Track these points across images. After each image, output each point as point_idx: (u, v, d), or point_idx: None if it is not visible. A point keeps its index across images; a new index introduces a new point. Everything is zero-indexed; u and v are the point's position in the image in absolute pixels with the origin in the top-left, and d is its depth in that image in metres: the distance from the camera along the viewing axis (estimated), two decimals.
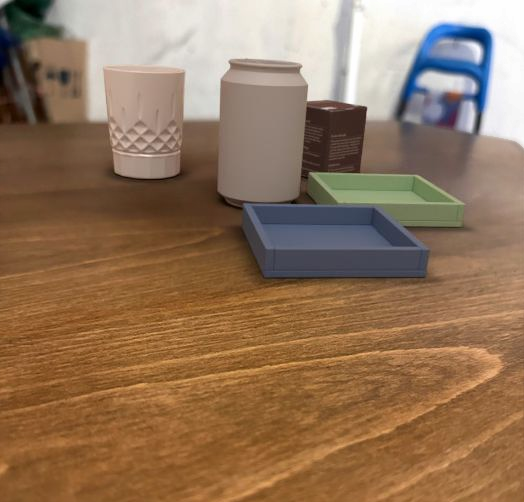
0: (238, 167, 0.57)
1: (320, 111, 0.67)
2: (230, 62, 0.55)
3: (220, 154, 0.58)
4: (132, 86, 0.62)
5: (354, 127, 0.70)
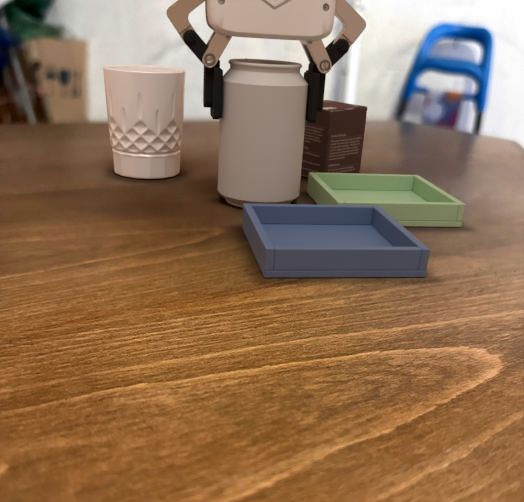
0: (238, 167, 0.57)
1: None
2: (230, 62, 0.55)
3: (220, 154, 0.58)
4: (132, 86, 0.62)
5: (354, 127, 0.70)
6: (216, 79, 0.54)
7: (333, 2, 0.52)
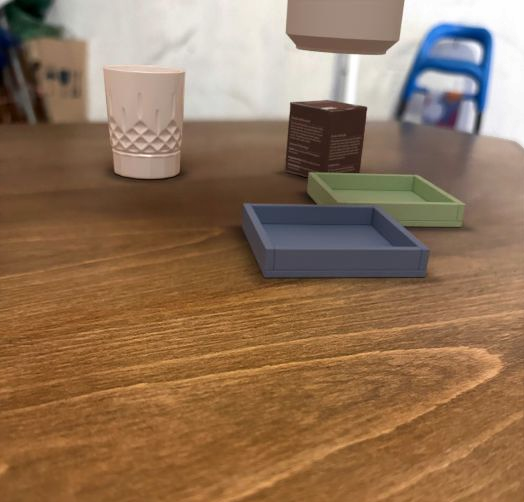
0: None
1: (320, 111, 0.67)
2: None
3: None
4: (132, 86, 0.62)
5: (354, 127, 0.70)
6: None
7: None
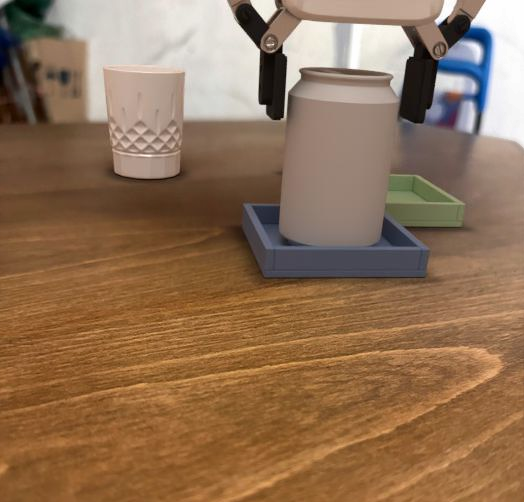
0: (310, 205, 0.45)
1: None
2: (303, 72, 0.43)
3: (285, 187, 0.46)
4: (132, 86, 0.62)
5: None
6: (278, 68, 0.42)
7: None
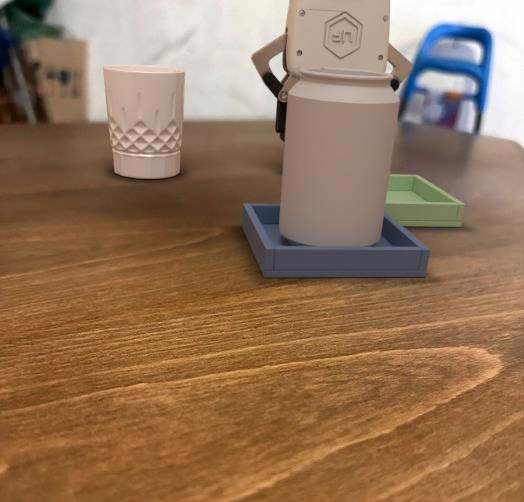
0: (310, 205, 0.45)
1: None
2: (303, 72, 0.43)
3: (285, 187, 0.46)
4: (132, 86, 0.62)
5: None
6: None
7: (386, 53, 0.66)
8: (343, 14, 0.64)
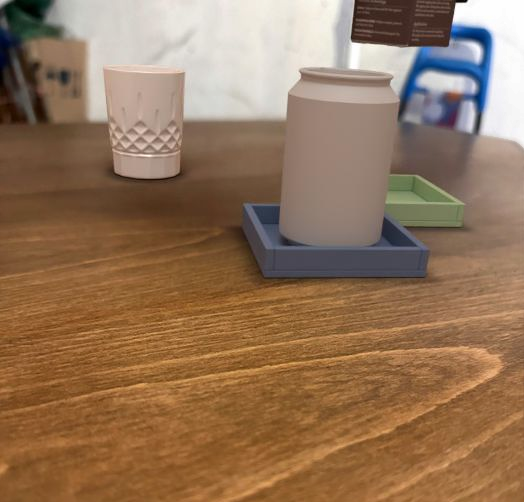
0: (310, 205, 0.45)
1: None
2: (303, 72, 0.43)
3: (285, 187, 0.46)
4: (132, 86, 0.62)
5: None
6: None
7: None
8: None
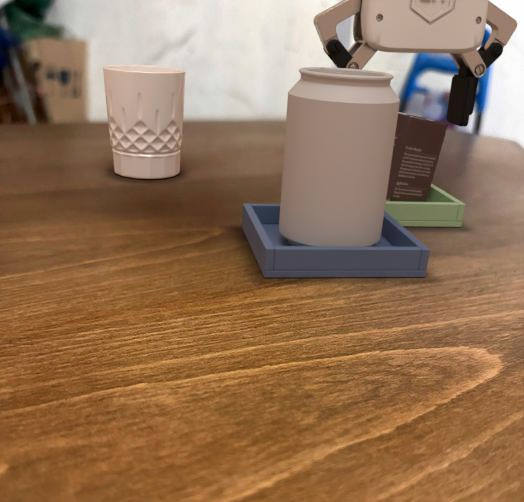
0: (310, 205, 0.45)
1: None
2: (303, 72, 0.43)
3: (285, 187, 0.46)
4: (132, 86, 0.62)
5: (430, 143, 0.58)
6: None
7: (485, 15, 0.53)
8: None
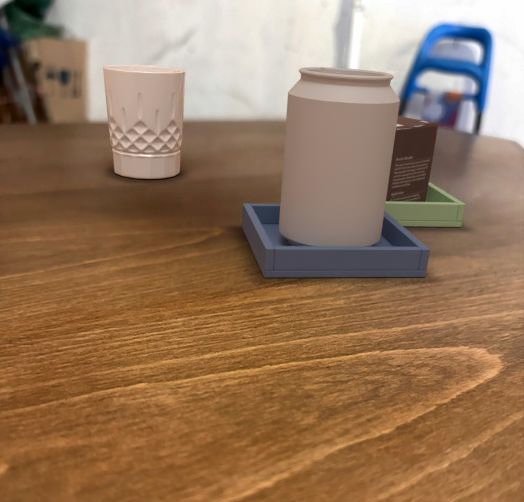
0: (310, 205, 0.45)
1: None
2: (303, 72, 0.43)
3: (285, 187, 0.46)
4: (132, 86, 0.62)
5: (422, 147, 0.57)
6: None
7: None
8: None
